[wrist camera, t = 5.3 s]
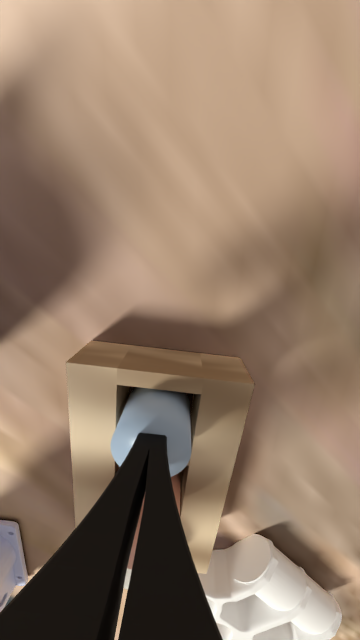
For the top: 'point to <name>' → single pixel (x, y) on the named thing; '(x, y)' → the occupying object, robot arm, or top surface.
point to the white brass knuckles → (266, 595)
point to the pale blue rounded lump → (155, 424)
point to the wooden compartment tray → (206, 426)
